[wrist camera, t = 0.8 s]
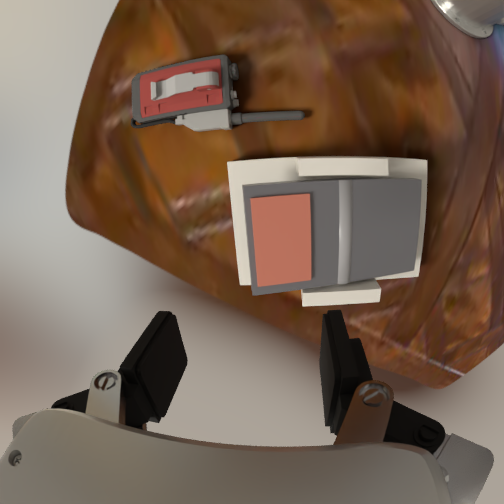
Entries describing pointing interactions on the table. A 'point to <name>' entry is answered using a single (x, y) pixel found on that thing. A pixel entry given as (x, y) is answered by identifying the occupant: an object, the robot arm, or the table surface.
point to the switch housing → (322, 169)
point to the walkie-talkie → (194, 96)
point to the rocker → (330, 231)
